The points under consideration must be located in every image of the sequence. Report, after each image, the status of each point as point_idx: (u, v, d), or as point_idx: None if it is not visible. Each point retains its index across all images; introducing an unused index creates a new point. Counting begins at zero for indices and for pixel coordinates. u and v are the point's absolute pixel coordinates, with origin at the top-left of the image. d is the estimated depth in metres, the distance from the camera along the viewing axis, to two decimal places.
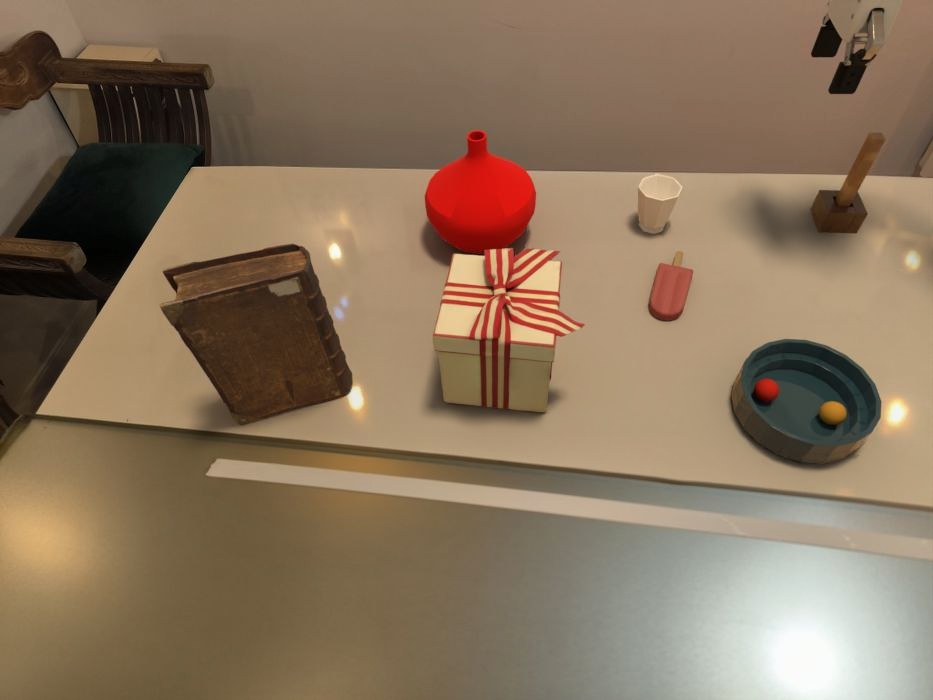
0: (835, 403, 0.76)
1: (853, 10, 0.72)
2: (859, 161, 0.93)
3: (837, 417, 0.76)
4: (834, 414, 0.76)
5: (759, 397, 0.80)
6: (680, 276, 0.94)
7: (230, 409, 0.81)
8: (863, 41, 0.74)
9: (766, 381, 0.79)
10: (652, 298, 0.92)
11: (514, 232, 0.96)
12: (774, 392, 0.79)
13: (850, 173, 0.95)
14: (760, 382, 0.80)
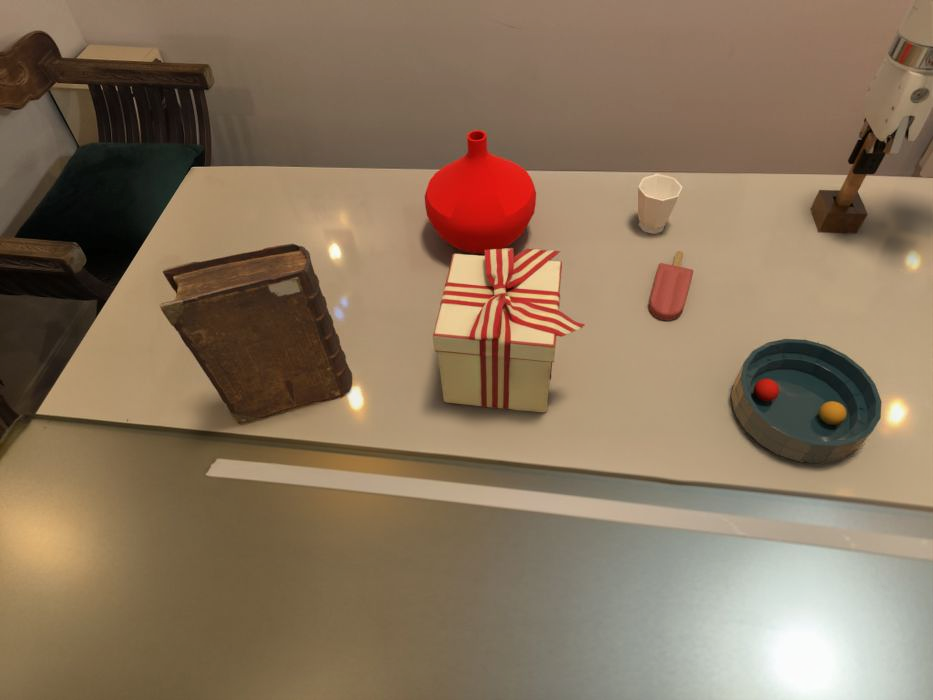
0: (835, 403, 0.76)
1: (887, 116, 0.83)
2: None
3: (837, 417, 0.76)
4: (834, 414, 0.76)
5: (759, 397, 0.80)
6: (680, 276, 0.94)
7: (230, 409, 0.81)
8: (886, 138, 0.88)
9: (766, 381, 0.79)
10: (652, 298, 0.92)
11: (514, 232, 0.96)
12: (774, 392, 0.79)
13: (850, 173, 0.95)
14: (760, 382, 0.80)
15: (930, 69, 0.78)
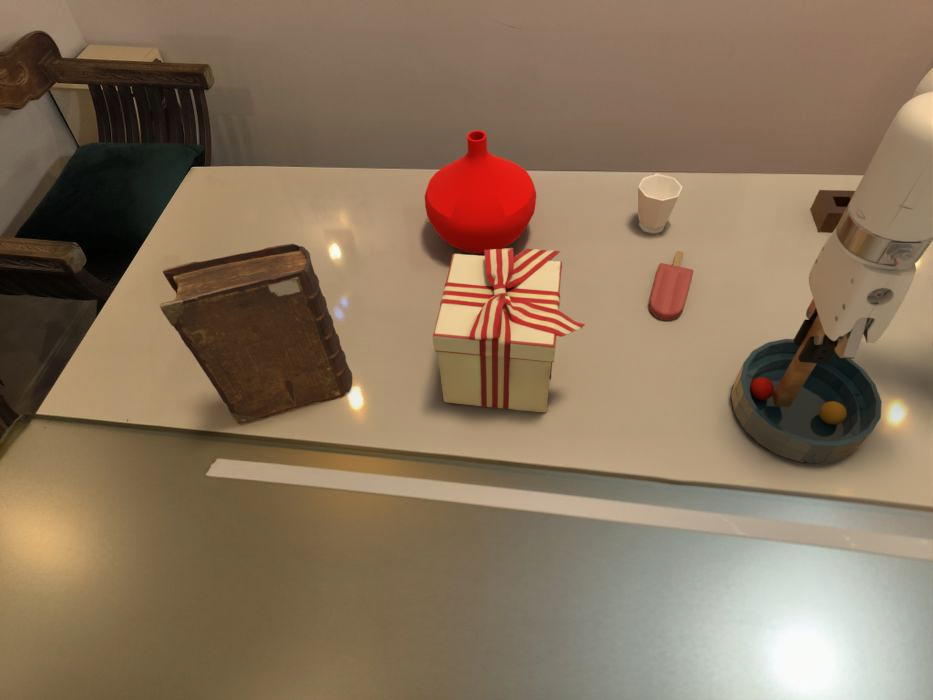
0: (835, 403, 0.76)
1: (837, 313, 0.60)
2: None
3: (837, 417, 0.76)
4: (834, 414, 0.76)
5: (755, 397, 0.80)
6: (680, 276, 0.94)
7: (230, 409, 0.81)
8: None
9: (757, 380, 0.80)
10: (652, 298, 0.92)
11: (514, 232, 0.96)
12: (766, 388, 0.79)
13: (797, 356, 0.72)
14: (752, 382, 0.80)
15: (894, 264, 0.55)
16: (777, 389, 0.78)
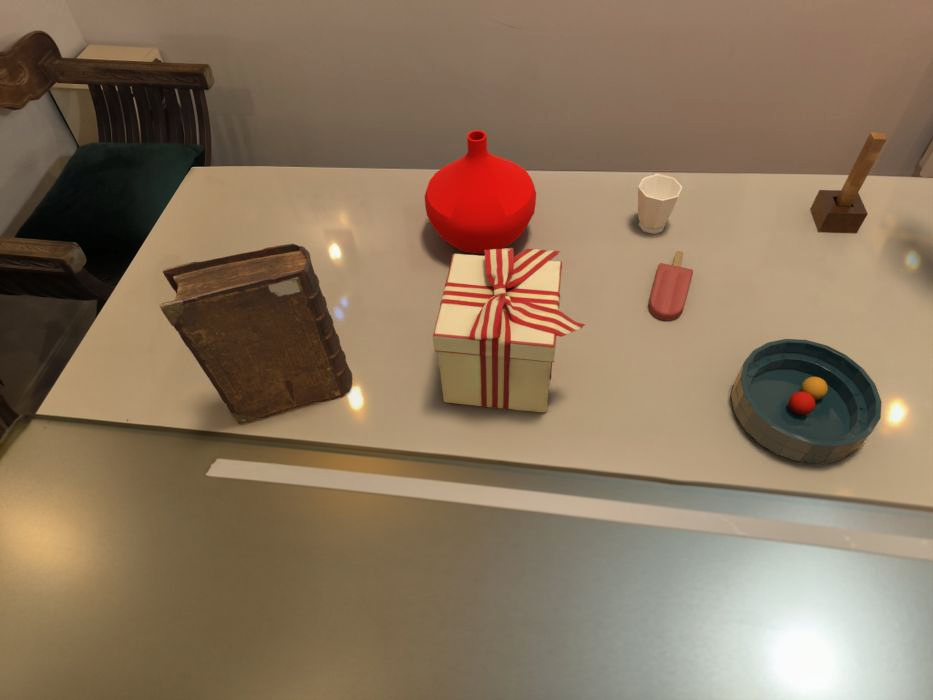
0: (807, 378, 0.80)
1: None
2: (861, 161, 0.93)
3: None
4: None
5: (802, 404, 0.77)
6: (680, 276, 0.94)
7: (230, 409, 0.81)
8: None
9: (812, 410, 0.78)
10: (652, 298, 0.92)
11: (514, 232, 0.96)
12: None
13: (851, 173, 0.95)
14: (814, 406, 0.78)
15: None
16: None
